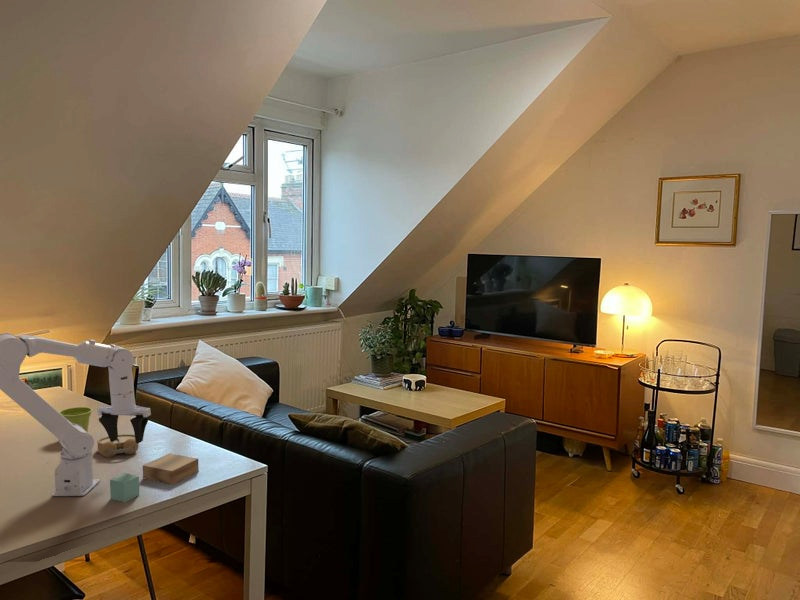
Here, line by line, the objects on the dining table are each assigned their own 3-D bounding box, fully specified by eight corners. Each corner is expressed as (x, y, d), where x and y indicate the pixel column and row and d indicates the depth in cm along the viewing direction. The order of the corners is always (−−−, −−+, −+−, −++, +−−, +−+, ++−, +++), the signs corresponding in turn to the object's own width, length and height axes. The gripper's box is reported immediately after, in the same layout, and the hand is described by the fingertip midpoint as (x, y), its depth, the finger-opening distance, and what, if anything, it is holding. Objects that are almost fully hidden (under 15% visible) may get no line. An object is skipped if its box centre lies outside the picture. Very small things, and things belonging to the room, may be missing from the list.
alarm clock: (135, 432, 194) (141, 437, 181) (136, 448, 193) (142, 454, 180) (96, 437, 188) (99, 443, 175) (96, 453, 188) (99, 461, 175)
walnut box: (198, 472, 170) (198, 458, 169) (172, 486, 161) (172, 471, 160) (170, 467, 174) (169, 453, 173) (143, 479, 164) (142, 465, 164)
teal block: (139, 495, 154) (138, 476, 153) (124, 502, 150) (124, 482, 149) (125, 492, 156) (124, 473, 155) (110, 499, 152) (109, 479, 151)
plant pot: (99, 436, 198) (98, 409, 197) (71, 444, 190) (70, 416, 189) (81, 431, 203) (80, 405, 202) (53, 438, 195) (52, 412, 194)
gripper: (155, 388, 165) (159, 437, 167) (108, 386, 168) (112, 434, 170) (139, 396, 158) (144, 446, 160) (90, 394, 161) (95, 444, 163)
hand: (126, 441), depth 165 cm, fingers open, 7 cm apart
